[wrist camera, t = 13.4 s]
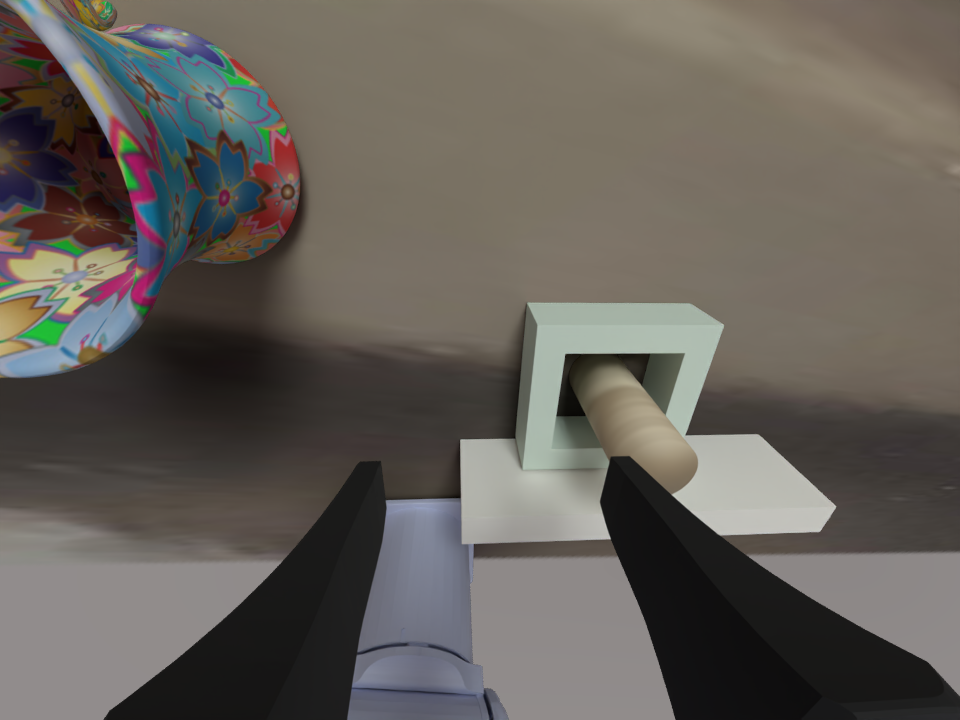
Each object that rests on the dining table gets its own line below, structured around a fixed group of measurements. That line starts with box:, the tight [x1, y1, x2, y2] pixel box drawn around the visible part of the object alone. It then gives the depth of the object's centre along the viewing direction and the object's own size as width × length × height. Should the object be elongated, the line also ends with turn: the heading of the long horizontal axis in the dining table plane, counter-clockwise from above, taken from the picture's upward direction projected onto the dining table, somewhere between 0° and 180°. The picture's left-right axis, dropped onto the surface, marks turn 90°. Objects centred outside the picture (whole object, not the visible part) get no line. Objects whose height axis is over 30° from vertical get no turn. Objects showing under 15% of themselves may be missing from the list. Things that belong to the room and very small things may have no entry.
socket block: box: [515, 303, 724, 470], centre depth 21 cm, size 9×9×3 cm
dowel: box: [569, 354, 698, 495], centre depth 19 cm, size 3×3×8 cm
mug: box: [0, 0, 300, 378], centre depth 11 cm, size 12×9×11 cm
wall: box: [460, 434, 836, 544], centre depth 23 cm, size 2×20×6 cm, turn 89°
